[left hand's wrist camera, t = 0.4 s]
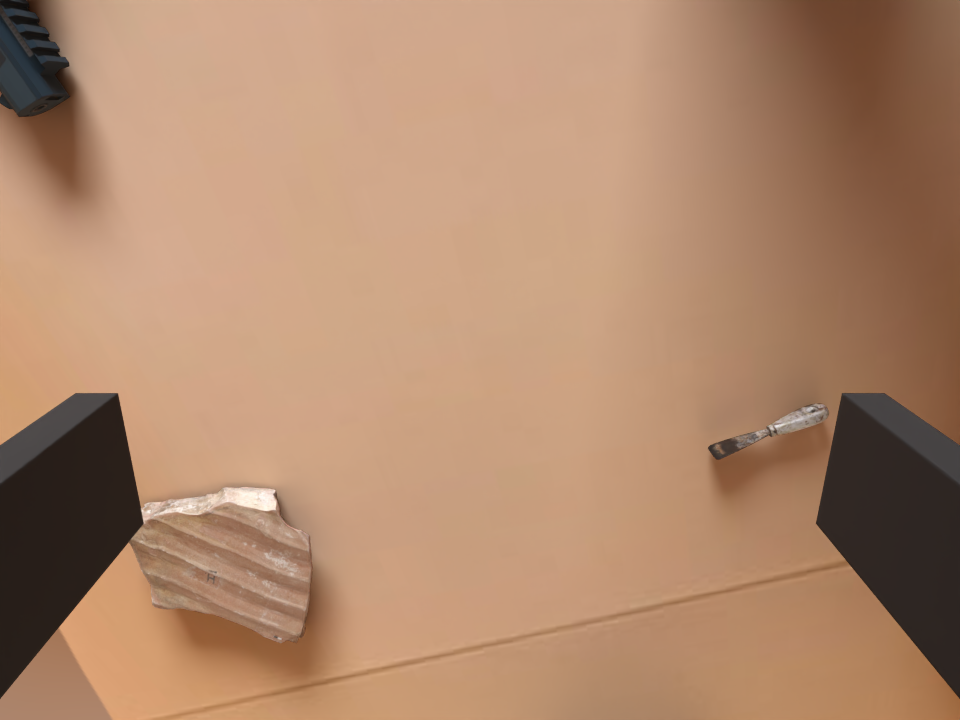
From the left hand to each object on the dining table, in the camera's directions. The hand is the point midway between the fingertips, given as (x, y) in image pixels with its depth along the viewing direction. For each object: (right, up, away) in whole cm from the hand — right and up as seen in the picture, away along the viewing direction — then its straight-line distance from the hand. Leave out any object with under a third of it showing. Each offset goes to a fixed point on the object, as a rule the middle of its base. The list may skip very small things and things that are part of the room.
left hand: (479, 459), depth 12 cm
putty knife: (+19, -3, +34) cm, 39 cm away
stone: (-18, -13, +37) cm, 43 cm away
